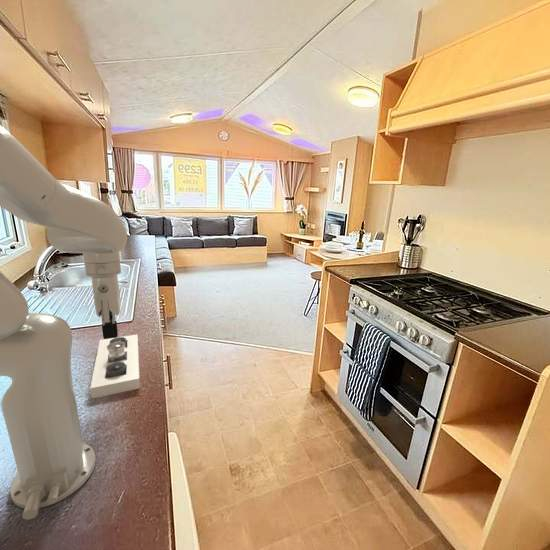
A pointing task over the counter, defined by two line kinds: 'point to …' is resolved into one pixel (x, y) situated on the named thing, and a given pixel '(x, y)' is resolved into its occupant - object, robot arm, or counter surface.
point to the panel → (119, 383)
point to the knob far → (119, 340)
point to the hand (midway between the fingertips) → (110, 336)
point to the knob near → (115, 369)
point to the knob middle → (116, 351)
